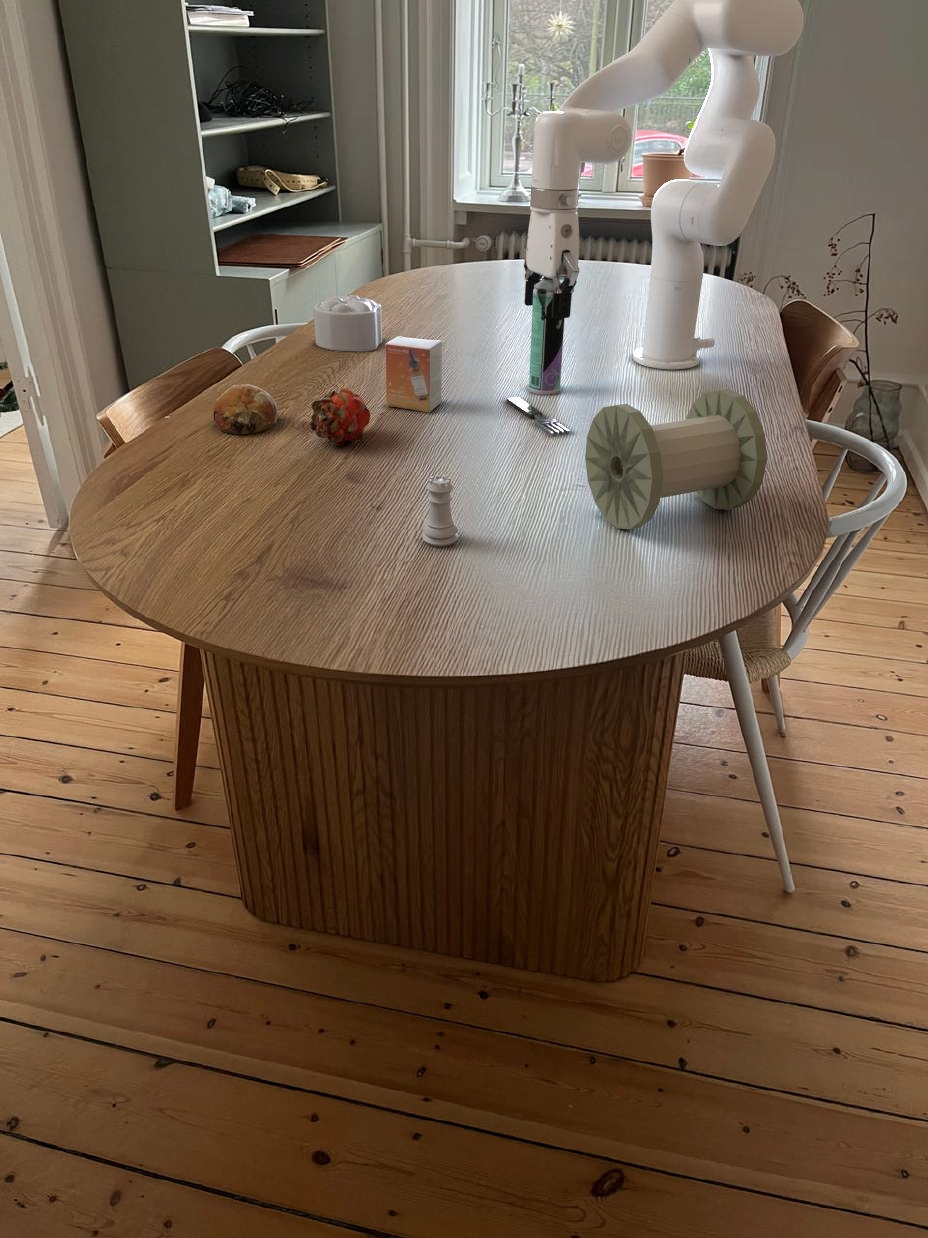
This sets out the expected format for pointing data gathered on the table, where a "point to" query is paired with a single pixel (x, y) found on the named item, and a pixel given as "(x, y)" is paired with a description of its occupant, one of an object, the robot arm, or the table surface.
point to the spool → (675, 457)
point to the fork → (537, 417)
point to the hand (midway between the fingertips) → (546, 311)
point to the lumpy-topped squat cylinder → (348, 324)
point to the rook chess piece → (440, 514)
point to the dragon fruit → (340, 417)
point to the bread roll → (244, 410)
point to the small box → (413, 373)
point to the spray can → (545, 342)
